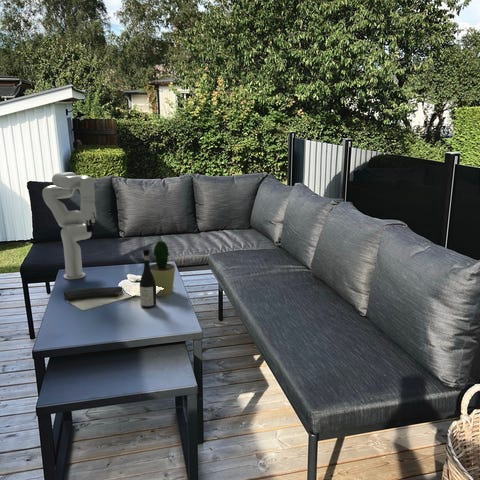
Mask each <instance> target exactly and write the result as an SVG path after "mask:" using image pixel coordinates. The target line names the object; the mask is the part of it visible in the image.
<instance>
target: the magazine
mask: <svg viewBox="0 0 480 480" xmlns="http://www.w3.org/2000/svg"><path fill="white" fill-rule="evenodd" d="M122 287H123V286H108V287H106V286H105V287H93V288H92V287H91V288H83V289H75V290H74V289H73V290H67V291H63V296H64V298H65V300H66V302H67V301H71V300H77V299H86V298H95V297H117V296H120V295H121V294H122V293H123V290H122V289H123V288H122Z"/></svg>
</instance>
